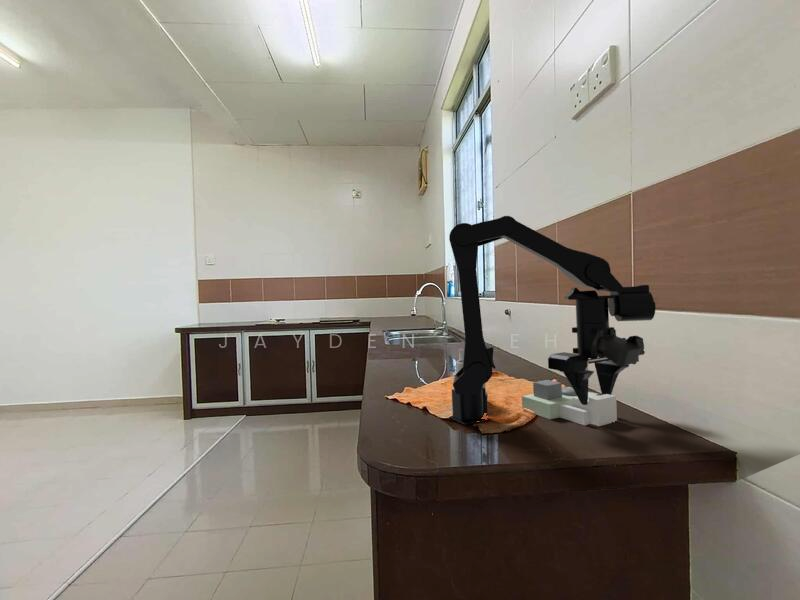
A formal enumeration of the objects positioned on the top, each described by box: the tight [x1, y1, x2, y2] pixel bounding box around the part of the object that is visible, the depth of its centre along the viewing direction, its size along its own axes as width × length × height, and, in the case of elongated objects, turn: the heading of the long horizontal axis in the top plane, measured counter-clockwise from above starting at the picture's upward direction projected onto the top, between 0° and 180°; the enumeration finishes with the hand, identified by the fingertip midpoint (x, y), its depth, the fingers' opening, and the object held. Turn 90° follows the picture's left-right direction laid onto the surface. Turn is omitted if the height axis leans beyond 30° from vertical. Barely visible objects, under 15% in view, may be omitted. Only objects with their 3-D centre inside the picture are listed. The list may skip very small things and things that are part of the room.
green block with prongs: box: [521, 379, 600, 426], centre depth 85 cm, size 14×14×6 cm
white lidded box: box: [572, 394, 618, 427], centre depth 80 cm, size 5×6×5 cm
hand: (595, 402), depth 79 cm, fingers open, 6 cm apart
